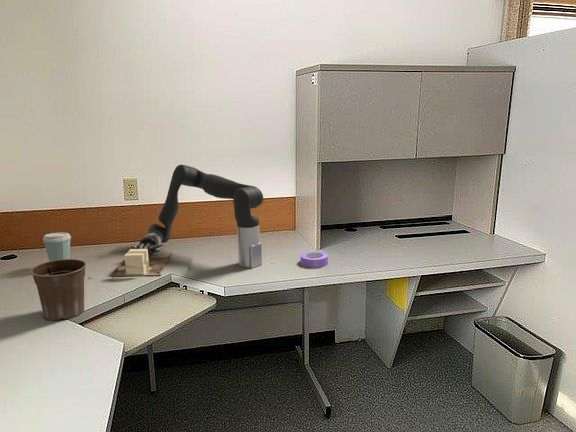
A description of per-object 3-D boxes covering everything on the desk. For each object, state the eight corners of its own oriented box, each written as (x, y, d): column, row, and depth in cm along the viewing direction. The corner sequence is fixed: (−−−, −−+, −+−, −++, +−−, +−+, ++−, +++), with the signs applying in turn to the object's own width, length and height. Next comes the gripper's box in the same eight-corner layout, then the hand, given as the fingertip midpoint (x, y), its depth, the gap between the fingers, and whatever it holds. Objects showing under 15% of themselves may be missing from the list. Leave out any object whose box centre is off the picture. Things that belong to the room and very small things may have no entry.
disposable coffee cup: (48, 265, 199) (43, 231, 196) (75, 262, 203) (71, 229, 200) (45, 273, 190) (40, 238, 186) (74, 269, 193) (69, 235, 190)
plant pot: (102, 305, 158) (97, 260, 154) (68, 326, 143) (61, 277, 139) (62, 300, 162) (56, 257, 159) (25, 321, 147) (18, 273, 144)
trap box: (129, 258, 206) (128, 254, 206) (172, 257, 207) (171, 253, 206) (111, 277, 184) (111, 272, 183) (160, 276, 184) (159, 271, 184)
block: (132, 267, 191) (130, 249, 189) (149, 267, 191) (147, 248, 189) (126, 274, 183) (124, 255, 181) (144, 274, 184) (142, 255, 182)
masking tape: (305, 269, 190) (305, 260, 189) (297, 260, 201) (297, 252, 200) (331, 266, 193) (332, 257, 192) (322, 258, 204) (322, 249, 203)
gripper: (134, 235, 206) (122, 246, 189) (164, 234, 206) (155, 246, 189) (136, 251, 207) (124, 264, 191) (166, 250, 208) (156, 263, 191)
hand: (139, 255), depth 190 cm, fingers closed
